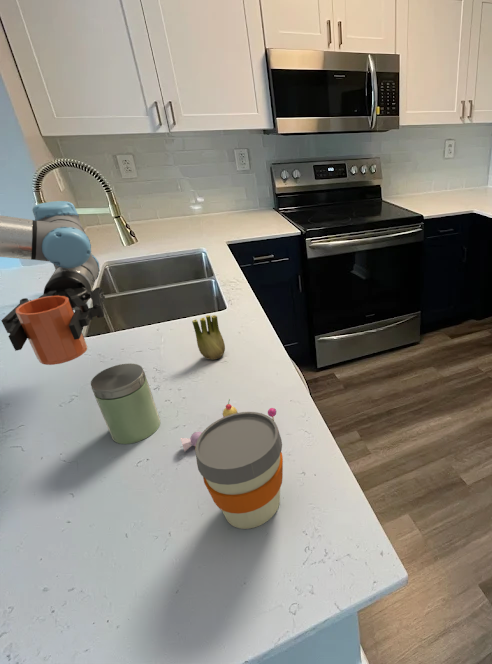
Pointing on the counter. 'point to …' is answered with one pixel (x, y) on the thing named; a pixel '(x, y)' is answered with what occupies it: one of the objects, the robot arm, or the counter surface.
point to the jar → (130, 415)
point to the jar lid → (118, 381)
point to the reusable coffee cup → (242, 467)
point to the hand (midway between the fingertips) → (45, 337)
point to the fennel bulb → (209, 338)
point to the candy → (227, 411)
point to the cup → (50, 329)
